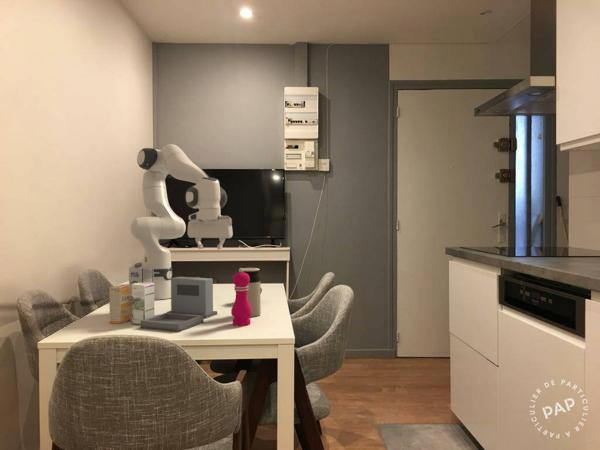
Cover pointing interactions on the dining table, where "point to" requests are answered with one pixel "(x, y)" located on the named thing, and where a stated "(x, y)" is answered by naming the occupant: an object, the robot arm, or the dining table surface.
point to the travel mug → (254, 291)
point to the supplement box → (120, 303)
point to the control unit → (192, 296)
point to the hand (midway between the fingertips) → (210, 248)
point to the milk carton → (141, 273)
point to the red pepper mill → (241, 299)
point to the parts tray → (172, 322)
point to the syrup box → (142, 302)
